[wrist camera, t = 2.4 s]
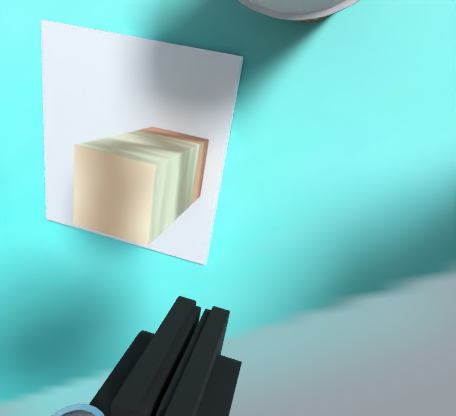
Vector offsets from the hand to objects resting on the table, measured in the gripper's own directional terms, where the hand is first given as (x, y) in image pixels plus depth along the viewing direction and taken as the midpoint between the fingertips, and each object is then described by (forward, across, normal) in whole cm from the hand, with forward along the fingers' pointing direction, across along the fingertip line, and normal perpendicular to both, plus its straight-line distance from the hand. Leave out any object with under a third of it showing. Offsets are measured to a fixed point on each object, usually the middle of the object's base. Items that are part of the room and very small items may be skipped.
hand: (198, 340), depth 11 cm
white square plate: (+19, +12, 0) cm, 23 cm away
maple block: (+18, +8, 0) cm, 20 cm away
